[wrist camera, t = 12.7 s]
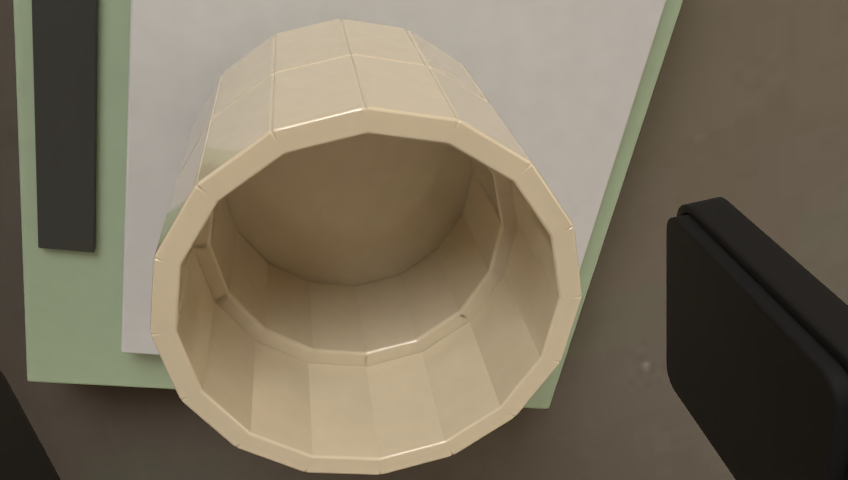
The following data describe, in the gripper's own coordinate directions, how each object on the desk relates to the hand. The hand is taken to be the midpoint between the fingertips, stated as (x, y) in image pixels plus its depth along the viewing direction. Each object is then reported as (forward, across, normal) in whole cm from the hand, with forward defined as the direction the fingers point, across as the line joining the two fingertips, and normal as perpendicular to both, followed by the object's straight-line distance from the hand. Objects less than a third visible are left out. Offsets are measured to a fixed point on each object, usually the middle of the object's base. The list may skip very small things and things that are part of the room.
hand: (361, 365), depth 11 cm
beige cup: (+7, 0, 0) cm, 8 cm away
